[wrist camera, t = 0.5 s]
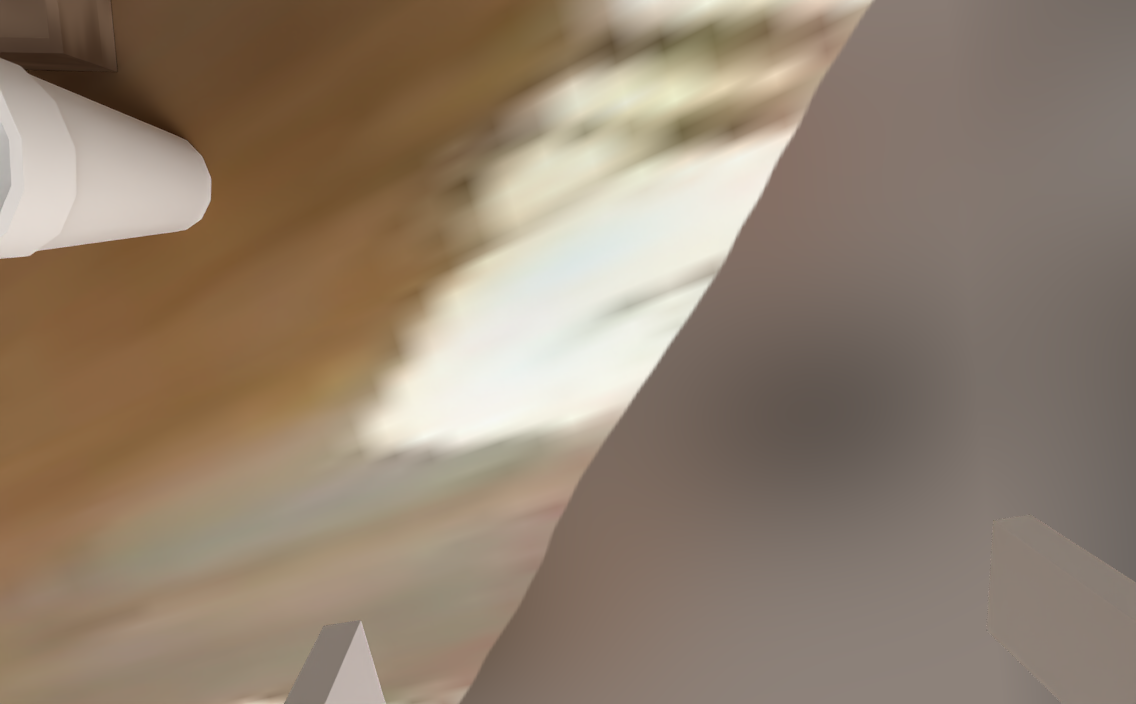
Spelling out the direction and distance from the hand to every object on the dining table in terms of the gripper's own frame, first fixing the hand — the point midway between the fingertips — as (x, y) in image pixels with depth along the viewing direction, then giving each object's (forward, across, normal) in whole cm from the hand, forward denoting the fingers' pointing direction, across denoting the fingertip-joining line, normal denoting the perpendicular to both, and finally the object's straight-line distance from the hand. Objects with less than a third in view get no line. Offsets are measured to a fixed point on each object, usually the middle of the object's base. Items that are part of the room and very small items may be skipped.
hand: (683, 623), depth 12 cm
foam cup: (+30, -26, +14) cm, 42 cm away
